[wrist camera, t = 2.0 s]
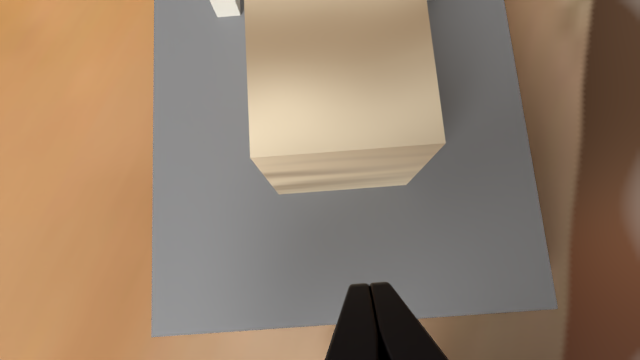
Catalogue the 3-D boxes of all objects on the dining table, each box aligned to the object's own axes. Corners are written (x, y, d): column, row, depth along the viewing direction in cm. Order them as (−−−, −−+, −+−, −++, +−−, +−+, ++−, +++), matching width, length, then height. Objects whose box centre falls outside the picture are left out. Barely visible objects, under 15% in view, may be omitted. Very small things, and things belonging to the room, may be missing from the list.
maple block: (406, 185, 20) (445, 143, 13) (278, 194, 20) (250, 158, 13) (388, 30, 21) (415, -82, 14) (270, 39, 21) (241, -67, 14)
